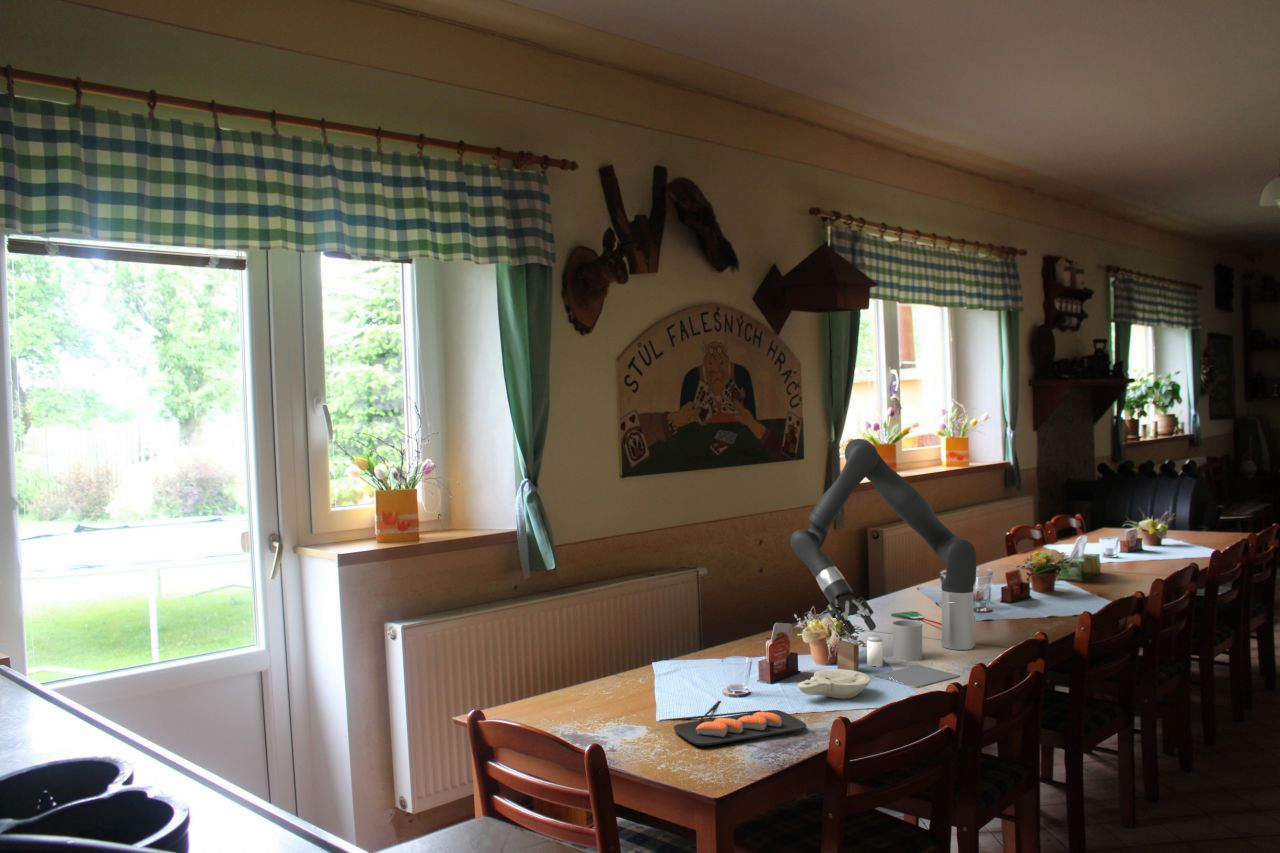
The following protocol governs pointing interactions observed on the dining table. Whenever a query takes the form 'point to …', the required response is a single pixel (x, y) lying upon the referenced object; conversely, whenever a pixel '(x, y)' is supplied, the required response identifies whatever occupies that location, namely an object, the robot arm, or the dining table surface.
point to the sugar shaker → (875, 651)
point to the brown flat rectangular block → (848, 655)
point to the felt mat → (918, 675)
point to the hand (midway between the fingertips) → (863, 631)
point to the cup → (907, 640)
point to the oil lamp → (835, 683)
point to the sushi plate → (736, 726)
